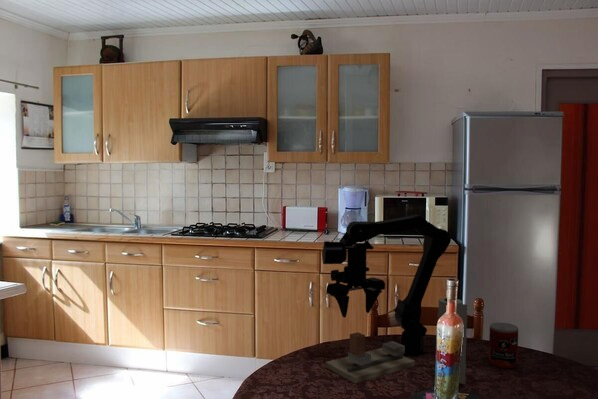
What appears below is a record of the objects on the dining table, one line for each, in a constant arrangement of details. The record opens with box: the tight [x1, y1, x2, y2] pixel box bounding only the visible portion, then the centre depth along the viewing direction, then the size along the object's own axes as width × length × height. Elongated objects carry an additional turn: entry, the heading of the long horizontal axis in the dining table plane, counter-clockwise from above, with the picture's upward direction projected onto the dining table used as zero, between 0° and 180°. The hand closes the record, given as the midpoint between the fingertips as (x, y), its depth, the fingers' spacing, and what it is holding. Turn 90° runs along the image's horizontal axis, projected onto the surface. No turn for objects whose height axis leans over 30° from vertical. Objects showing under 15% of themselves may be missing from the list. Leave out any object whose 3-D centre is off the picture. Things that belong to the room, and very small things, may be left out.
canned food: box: [488, 322, 519, 369], centre depth 146 cm, size 8×8×11 cm
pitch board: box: [324, 340, 416, 384], centre depth 143 cm, size 22×13×5 cm, turn 124°
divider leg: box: [347, 332, 371, 366], centre depth 139 cm, size 4×5×8 cm
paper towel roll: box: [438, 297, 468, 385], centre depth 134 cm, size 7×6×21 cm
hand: (356, 314), depth 153 cm, fingers open, 9 cm apart
